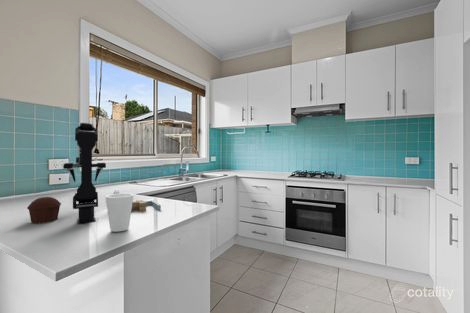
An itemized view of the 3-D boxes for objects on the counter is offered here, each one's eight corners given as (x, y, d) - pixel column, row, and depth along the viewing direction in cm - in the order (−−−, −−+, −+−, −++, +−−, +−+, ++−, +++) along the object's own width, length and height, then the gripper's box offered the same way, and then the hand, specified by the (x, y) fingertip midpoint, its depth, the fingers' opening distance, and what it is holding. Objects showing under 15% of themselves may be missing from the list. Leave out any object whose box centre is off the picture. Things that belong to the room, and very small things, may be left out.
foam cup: (100, 230, 84) (100, 196, 84) (122, 223, 93) (122, 192, 93) (116, 234, 80) (116, 198, 80) (138, 227, 88) (138, 194, 88)
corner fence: (160, 210, 115) (160, 205, 115) (138, 213, 109) (138, 207, 109) (152, 205, 128) (152, 200, 128) (132, 207, 122) (132, 202, 122)
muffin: (65, 219, 99) (65, 197, 99) (33, 226, 89) (33, 201, 89) (53, 215, 105) (54, 194, 105) (22, 221, 95) (22, 198, 96)
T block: (145, 211, 114) (146, 202, 114) (126, 213, 109) (126, 204, 109) (142, 208, 122) (142, 199, 122) (123, 210, 116) (123, 201, 116)
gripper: (104, 153, 132) (104, 179, 132) (64, 152, 121) (64, 181, 121) (105, 152, 123) (105, 181, 123) (63, 152, 112) (63, 183, 112)
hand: (85, 181), depth 120 cm, fingers open, 9 cm apart
